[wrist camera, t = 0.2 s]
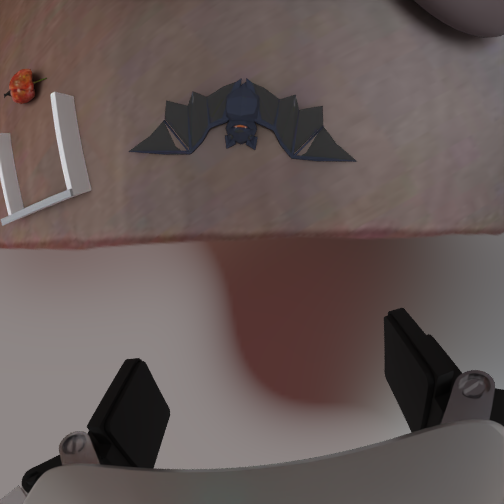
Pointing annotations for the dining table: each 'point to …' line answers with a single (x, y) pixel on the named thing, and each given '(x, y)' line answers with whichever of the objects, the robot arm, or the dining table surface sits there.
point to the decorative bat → (244, 123)
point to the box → (70, 154)
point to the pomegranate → (22, 86)
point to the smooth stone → (469, 15)
